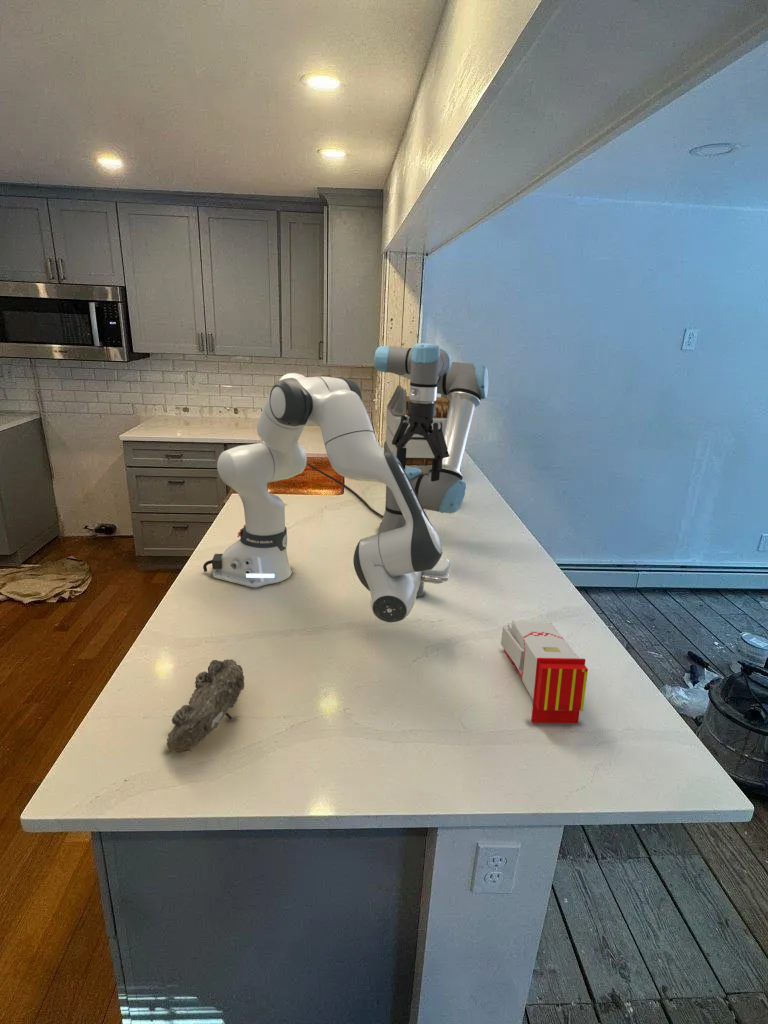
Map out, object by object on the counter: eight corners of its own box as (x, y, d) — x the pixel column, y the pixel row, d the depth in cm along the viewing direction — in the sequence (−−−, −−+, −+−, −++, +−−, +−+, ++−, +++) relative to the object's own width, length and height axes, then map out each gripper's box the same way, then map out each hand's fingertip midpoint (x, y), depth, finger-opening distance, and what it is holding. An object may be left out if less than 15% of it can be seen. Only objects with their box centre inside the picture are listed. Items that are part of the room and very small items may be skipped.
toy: (547, 606, 135) (596, 665, 106) (541, 658, 138) (589, 729, 108) (496, 604, 134) (532, 664, 105) (492, 657, 137) (526, 729, 108)
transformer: (382, 463, 289) (386, 382, 275) (445, 464, 293) (451, 384, 279) (390, 482, 257) (394, 392, 243) (460, 483, 261) (468, 394, 247)
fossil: (192, 660, 117) (244, 628, 112) (224, 691, 120) (276, 661, 115) (142, 746, 98) (202, 712, 93) (182, 779, 101) (242, 748, 96)
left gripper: (449, 569, 126) (454, 545, 139) (359, 557, 129) (372, 535, 142) (446, 594, 128) (451, 568, 141) (358, 582, 132) (371, 557, 144)
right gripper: (382, 396, 163) (379, 467, 171) (447, 409, 147) (441, 487, 154) (400, 394, 168) (396, 463, 176) (466, 407, 151) (459, 483, 159)
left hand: (411, 551), depth 142 cm, fingers open, 8 cm apart
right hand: (417, 475), depth 165 cm, fingers open, 13 cm apart
